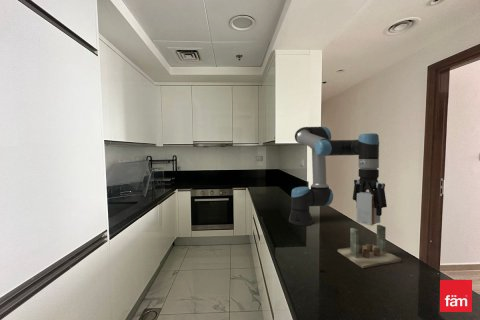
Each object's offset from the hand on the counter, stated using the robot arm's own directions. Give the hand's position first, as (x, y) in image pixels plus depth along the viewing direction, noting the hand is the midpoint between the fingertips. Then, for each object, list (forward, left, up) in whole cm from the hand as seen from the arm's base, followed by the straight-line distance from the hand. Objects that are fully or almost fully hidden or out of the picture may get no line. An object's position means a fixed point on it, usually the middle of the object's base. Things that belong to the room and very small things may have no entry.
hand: (368, 219), depth 87 cm
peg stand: (0, 0, -17) cm, 17 cm away
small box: (0, 0, -1) cm, 1 cm away
